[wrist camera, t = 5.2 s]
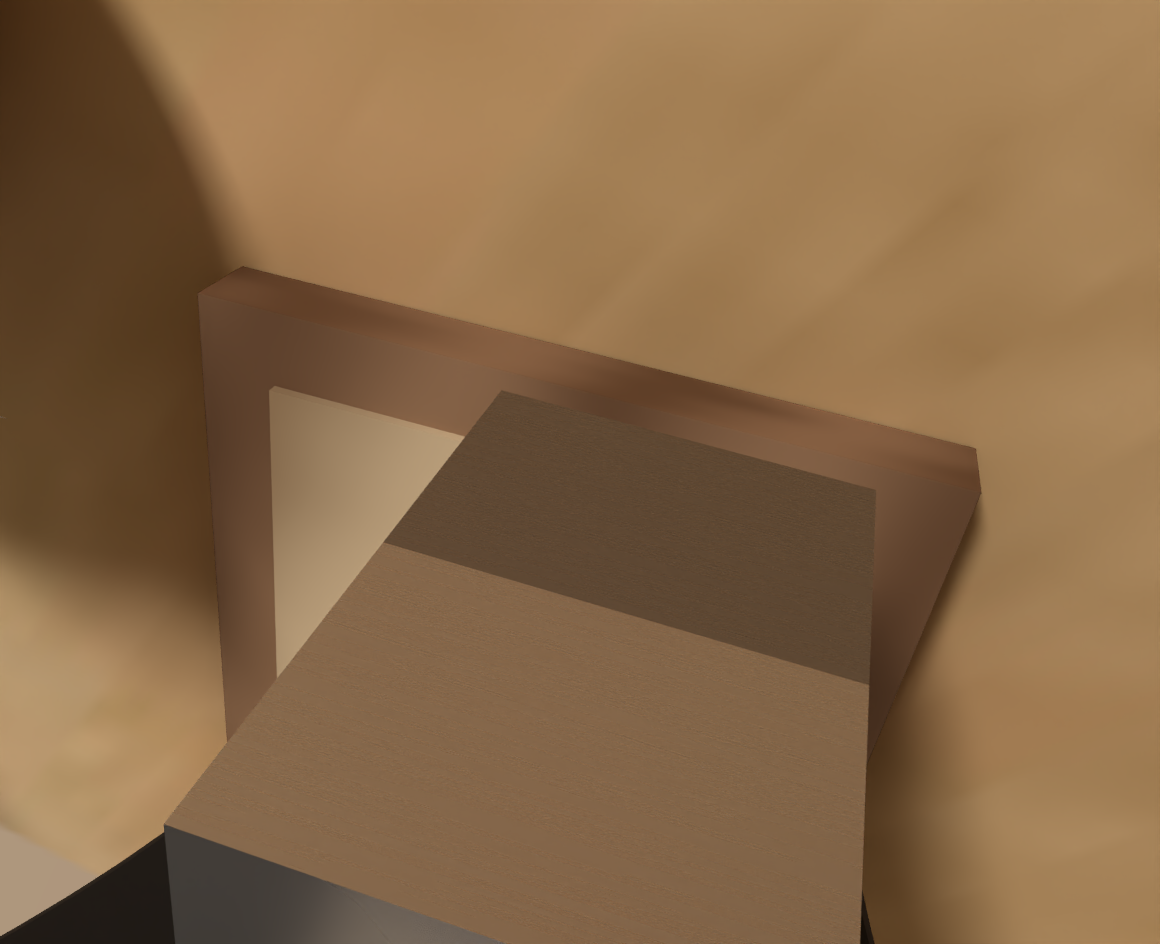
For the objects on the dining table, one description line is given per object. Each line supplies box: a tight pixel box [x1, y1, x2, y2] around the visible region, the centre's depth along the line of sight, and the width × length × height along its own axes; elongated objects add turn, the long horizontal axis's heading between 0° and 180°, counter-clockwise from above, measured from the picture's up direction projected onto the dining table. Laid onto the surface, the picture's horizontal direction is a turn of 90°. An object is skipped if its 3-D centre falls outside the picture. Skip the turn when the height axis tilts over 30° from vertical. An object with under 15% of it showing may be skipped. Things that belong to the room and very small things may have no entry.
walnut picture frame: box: [198, 267, 981, 765], centre depth 22 cm, size 14×14×2 cm
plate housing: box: [164, 390, 876, 944], centre depth 10 cm, size 4×7×6 cm, turn 171°
